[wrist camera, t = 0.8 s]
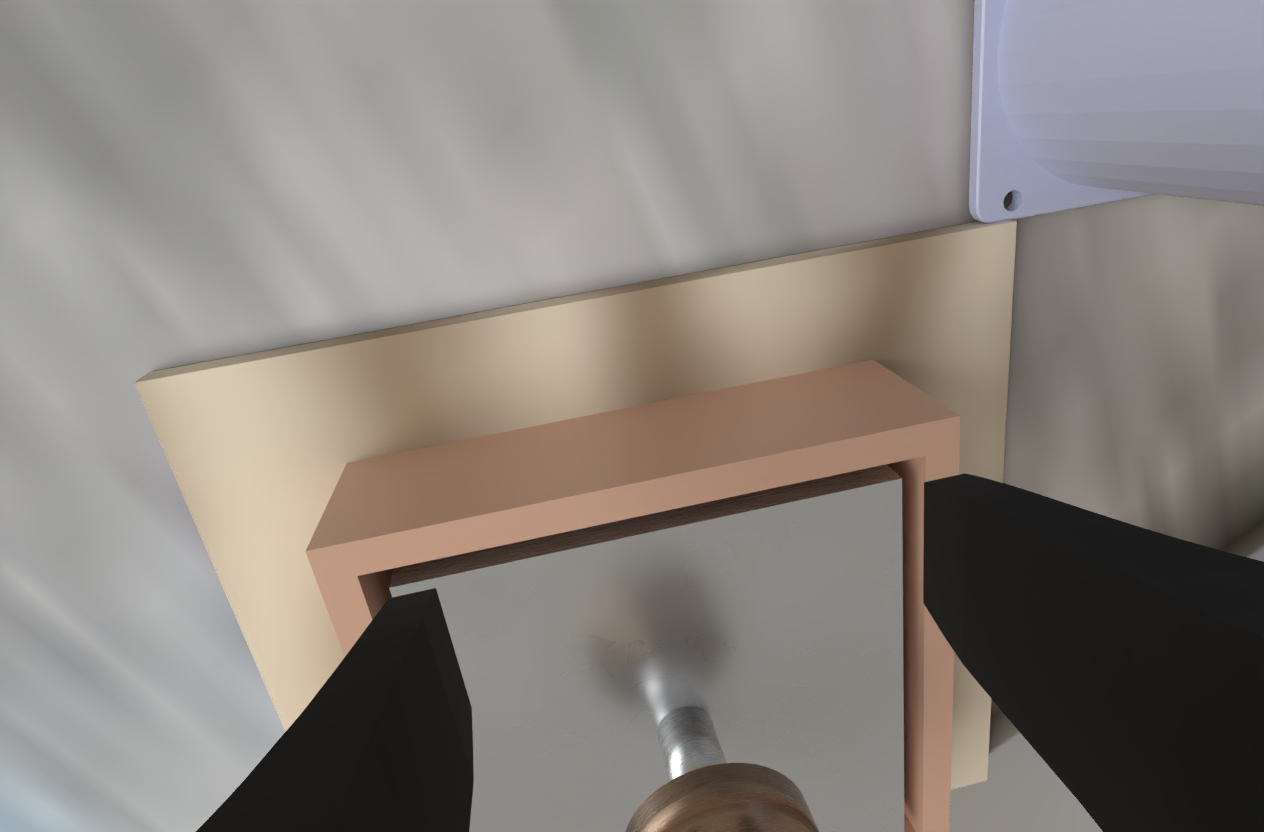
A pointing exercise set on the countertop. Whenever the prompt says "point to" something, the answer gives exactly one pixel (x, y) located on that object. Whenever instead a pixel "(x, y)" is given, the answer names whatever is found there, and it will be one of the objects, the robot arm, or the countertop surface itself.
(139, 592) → the countertop surface
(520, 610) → the square lid with knob
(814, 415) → the pink square tray
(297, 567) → the serving board
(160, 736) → the countertop surface
